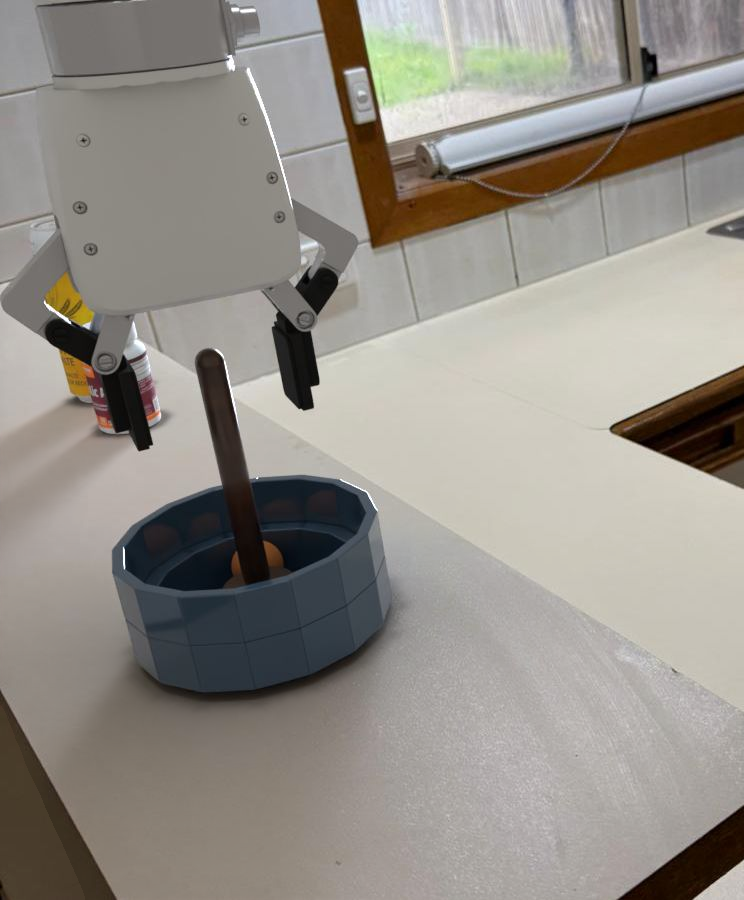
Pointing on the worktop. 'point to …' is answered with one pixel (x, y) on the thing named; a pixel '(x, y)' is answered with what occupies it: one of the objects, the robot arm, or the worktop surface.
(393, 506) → the worktop surface
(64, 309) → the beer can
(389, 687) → the worktop surface
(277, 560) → the orange ball
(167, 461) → the worktop surface
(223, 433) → the wooden tamper
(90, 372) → the pill bottle
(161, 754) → the worktop surface
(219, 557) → the bowl
